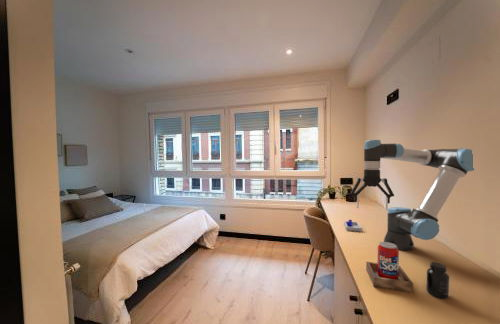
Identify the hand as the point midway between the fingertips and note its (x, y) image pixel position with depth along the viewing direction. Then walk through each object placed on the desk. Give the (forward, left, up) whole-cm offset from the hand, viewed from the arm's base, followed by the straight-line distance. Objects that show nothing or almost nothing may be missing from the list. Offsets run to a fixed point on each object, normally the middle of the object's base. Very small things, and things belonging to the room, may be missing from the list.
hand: (371, 208), depth 115 cm
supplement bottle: (-18, +26, -27) cm, 42 cm away
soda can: (-2, +21, -26) cm, 33 cm away
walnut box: (-2, +21, -27) cm, 34 cm away
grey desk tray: (+2, -47, -27) cm, 54 cm away
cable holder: (+3, -49, -26) cm, 55 cm away
